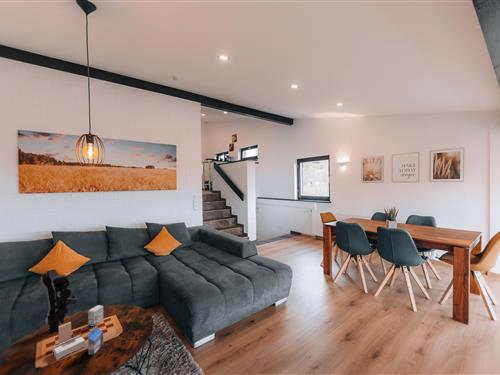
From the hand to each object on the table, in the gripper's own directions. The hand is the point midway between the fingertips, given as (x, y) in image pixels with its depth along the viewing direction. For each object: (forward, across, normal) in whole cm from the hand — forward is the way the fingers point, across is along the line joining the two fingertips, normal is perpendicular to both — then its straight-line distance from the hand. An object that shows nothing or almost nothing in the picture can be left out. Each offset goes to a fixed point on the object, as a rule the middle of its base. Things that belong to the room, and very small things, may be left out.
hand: (62, 320), depth 152 cm
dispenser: (+15, -11, -2) cm, 19 cm away
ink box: (+13, +8, -18) cm, 24 cm away
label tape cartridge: (+17, -22, -15) cm, 31 cm away
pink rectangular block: (+14, -4, -1) cm, 15 cm away
